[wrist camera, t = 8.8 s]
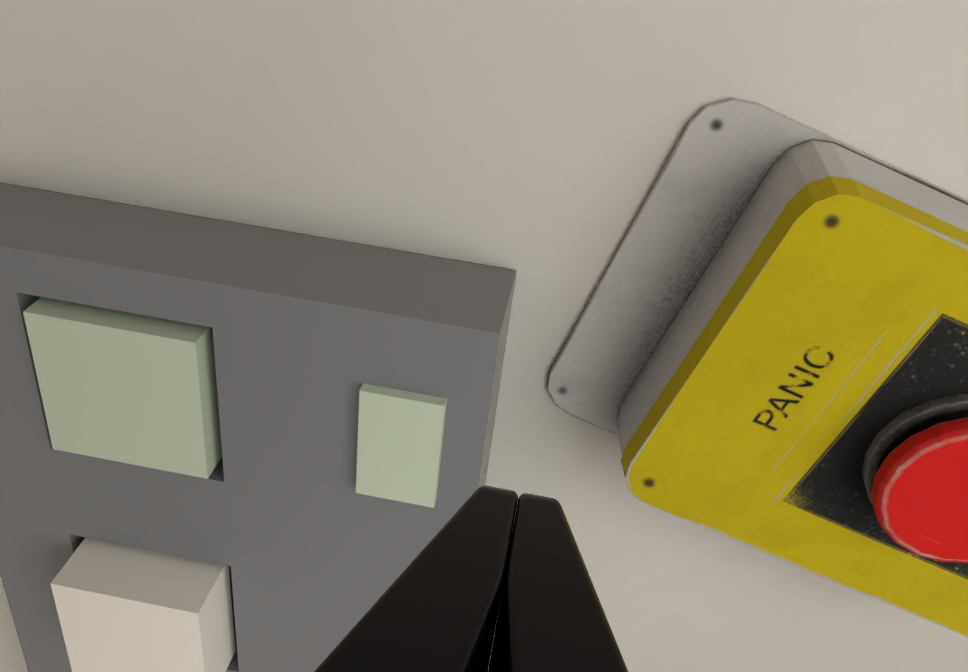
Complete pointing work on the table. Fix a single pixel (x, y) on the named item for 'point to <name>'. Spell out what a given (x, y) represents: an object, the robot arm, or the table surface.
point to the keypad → (253, 415)
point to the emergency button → (792, 356)
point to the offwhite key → (143, 611)
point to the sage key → (127, 386)
